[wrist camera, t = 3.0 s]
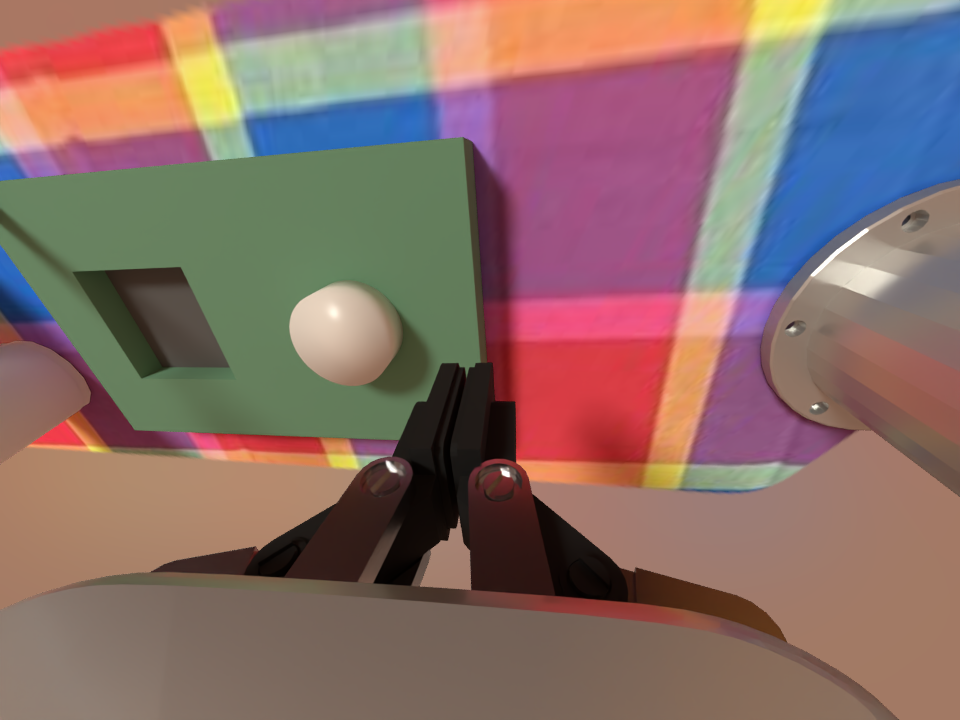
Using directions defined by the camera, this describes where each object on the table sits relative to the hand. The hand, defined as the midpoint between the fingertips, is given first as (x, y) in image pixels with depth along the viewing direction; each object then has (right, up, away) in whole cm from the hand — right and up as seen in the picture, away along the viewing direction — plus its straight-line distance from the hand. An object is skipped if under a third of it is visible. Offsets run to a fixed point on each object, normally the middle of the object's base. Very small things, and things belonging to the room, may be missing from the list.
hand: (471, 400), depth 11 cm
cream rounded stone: (-6, +3, +7) cm, 10 cm away
